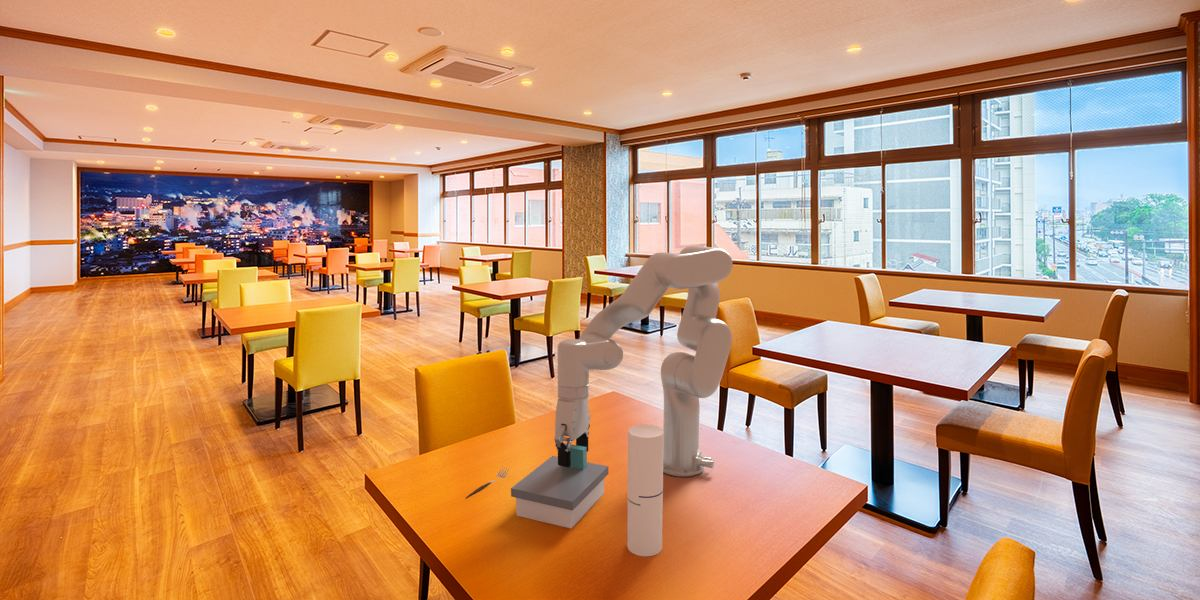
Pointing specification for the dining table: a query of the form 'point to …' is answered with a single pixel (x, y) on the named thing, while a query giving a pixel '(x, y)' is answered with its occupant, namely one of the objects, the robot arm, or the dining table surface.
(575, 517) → the tub
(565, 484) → the lid
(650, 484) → the cylindrical container
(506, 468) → the fork
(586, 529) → the dining table surface
